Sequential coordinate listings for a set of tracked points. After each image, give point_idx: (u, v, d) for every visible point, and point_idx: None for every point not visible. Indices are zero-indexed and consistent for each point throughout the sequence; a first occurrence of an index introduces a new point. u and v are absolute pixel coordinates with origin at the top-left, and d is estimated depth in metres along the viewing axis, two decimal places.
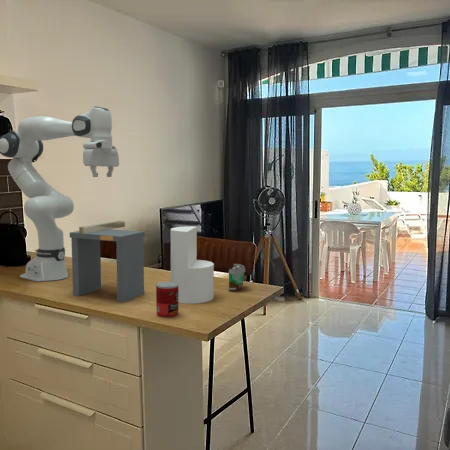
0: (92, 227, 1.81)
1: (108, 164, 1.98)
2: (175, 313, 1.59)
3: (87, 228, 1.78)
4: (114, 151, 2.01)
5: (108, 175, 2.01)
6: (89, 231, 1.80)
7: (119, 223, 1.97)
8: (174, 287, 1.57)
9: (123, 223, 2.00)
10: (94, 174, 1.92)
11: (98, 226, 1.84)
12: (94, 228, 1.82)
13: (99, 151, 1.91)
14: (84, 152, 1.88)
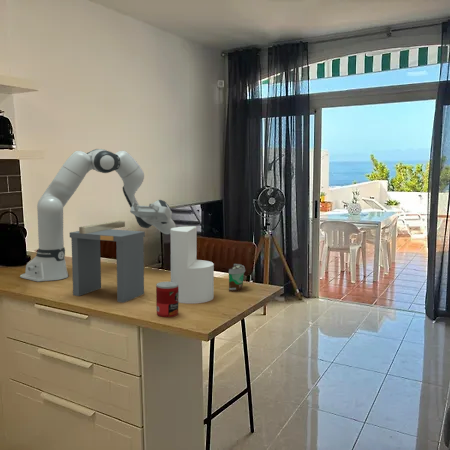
0: (92, 227, 1.81)
1: (143, 212, 2.20)
2: (175, 313, 1.59)
3: (87, 228, 1.78)
4: (141, 217, 2.27)
5: (135, 205, 2.17)
6: (89, 231, 1.80)
7: (119, 223, 1.97)
8: (174, 287, 1.57)
9: (123, 223, 2.00)
10: (152, 206, 2.14)
11: (98, 226, 1.84)
12: (94, 228, 1.82)
13: (159, 218, 2.22)
14: (169, 211, 2.20)
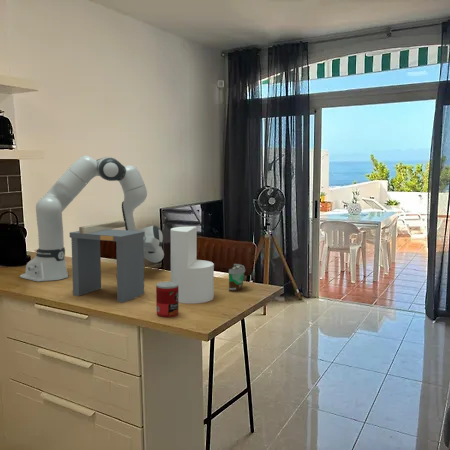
0: (92, 227, 1.81)
1: None
2: (175, 313, 1.59)
3: (87, 228, 1.78)
4: None
5: None
6: (89, 231, 1.80)
7: (119, 223, 1.97)
8: (174, 287, 1.57)
9: (123, 223, 2.00)
10: None
11: (98, 226, 1.84)
12: (94, 228, 1.82)
13: (146, 248, 2.13)
14: (157, 241, 2.12)
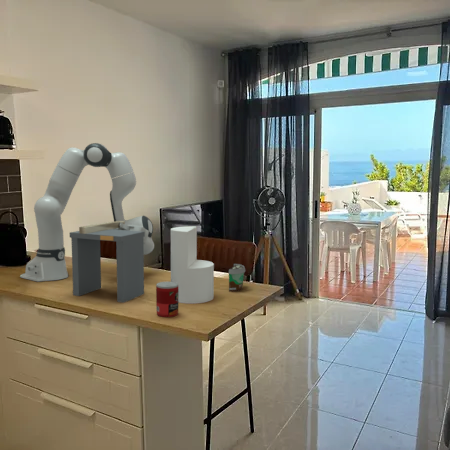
0: (92, 227, 1.81)
1: None
2: (175, 313, 1.59)
3: (87, 228, 1.78)
4: None
5: None
6: (89, 231, 1.80)
7: None
8: (174, 287, 1.57)
9: (123, 223, 2.00)
10: (122, 225, 1.97)
11: (98, 226, 1.84)
12: (94, 228, 1.82)
13: None
14: (146, 231, 2.03)
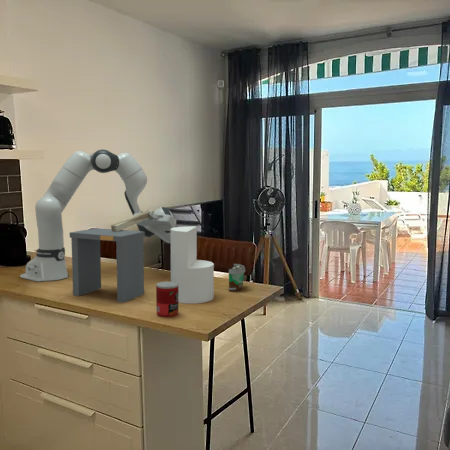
0: (123, 224, 1.87)
1: (146, 221, 2.07)
2: (175, 313, 1.59)
3: (119, 226, 1.85)
4: (144, 225, 2.14)
5: None
6: (121, 228, 1.86)
7: None
8: (174, 287, 1.57)
9: None
10: (151, 214, 2.02)
11: (129, 221, 1.90)
12: (125, 224, 1.88)
13: (163, 227, 2.09)
14: (174, 220, 2.08)
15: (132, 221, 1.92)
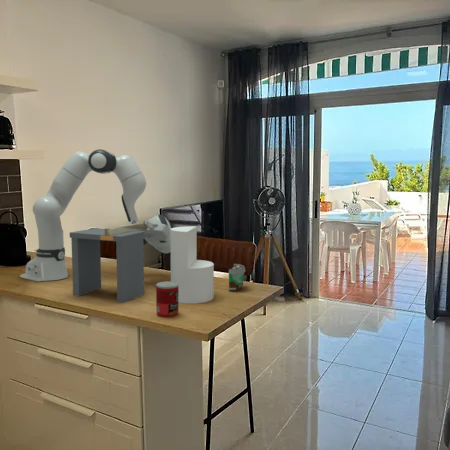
0: (117, 229, 1.77)
1: (139, 230, 1.97)
2: (175, 313, 1.59)
3: (113, 230, 1.74)
4: None
5: (134, 222, 1.94)
6: (115, 233, 1.75)
7: None
8: (174, 287, 1.57)
9: None
10: (147, 223, 1.92)
11: (123, 228, 1.80)
12: (119, 230, 1.78)
13: (158, 237, 1.99)
14: (169, 229, 1.98)
15: (126, 228, 1.82)
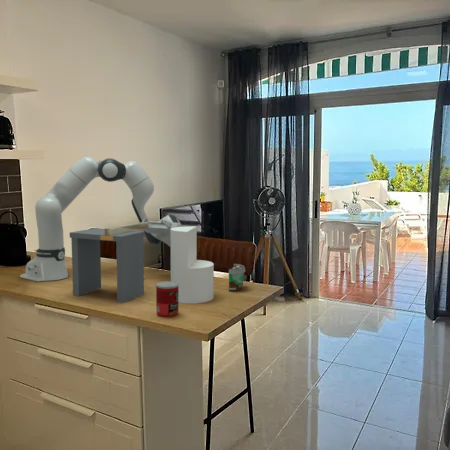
0: (117, 229, 1.77)
1: (154, 229, 2.08)
2: (175, 313, 1.59)
3: (113, 230, 1.74)
4: (152, 233, 2.14)
5: (146, 221, 2.05)
6: (115, 233, 1.75)
7: (143, 224, 1.93)
8: (174, 287, 1.57)
9: (147, 224, 1.96)
10: (165, 222, 2.02)
11: (123, 228, 1.80)
12: (119, 230, 1.78)
13: None
14: None
15: (126, 228, 1.82)
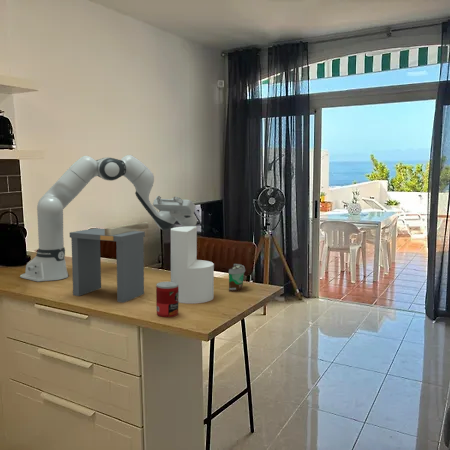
0: (117, 229, 1.77)
1: (166, 206, 2.17)
2: (175, 313, 1.59)
3: (113, 230, 1.74)
4: (164, 210, 2.24)
5: (159, 198, 2.14)
6: (115, 233, 1.75)
7: (143, 224, 1.93)
8: (174, 287, 1.57)
9: (147, 224, 1.96)
10: (177, 199, 2.11)
11: (123, 228, 1.80)
12: (119, 230, 1.78)
13: (183, 212, 2.19)
14: (193, 205, 2.17)
15: (126, 228, 1.82)
